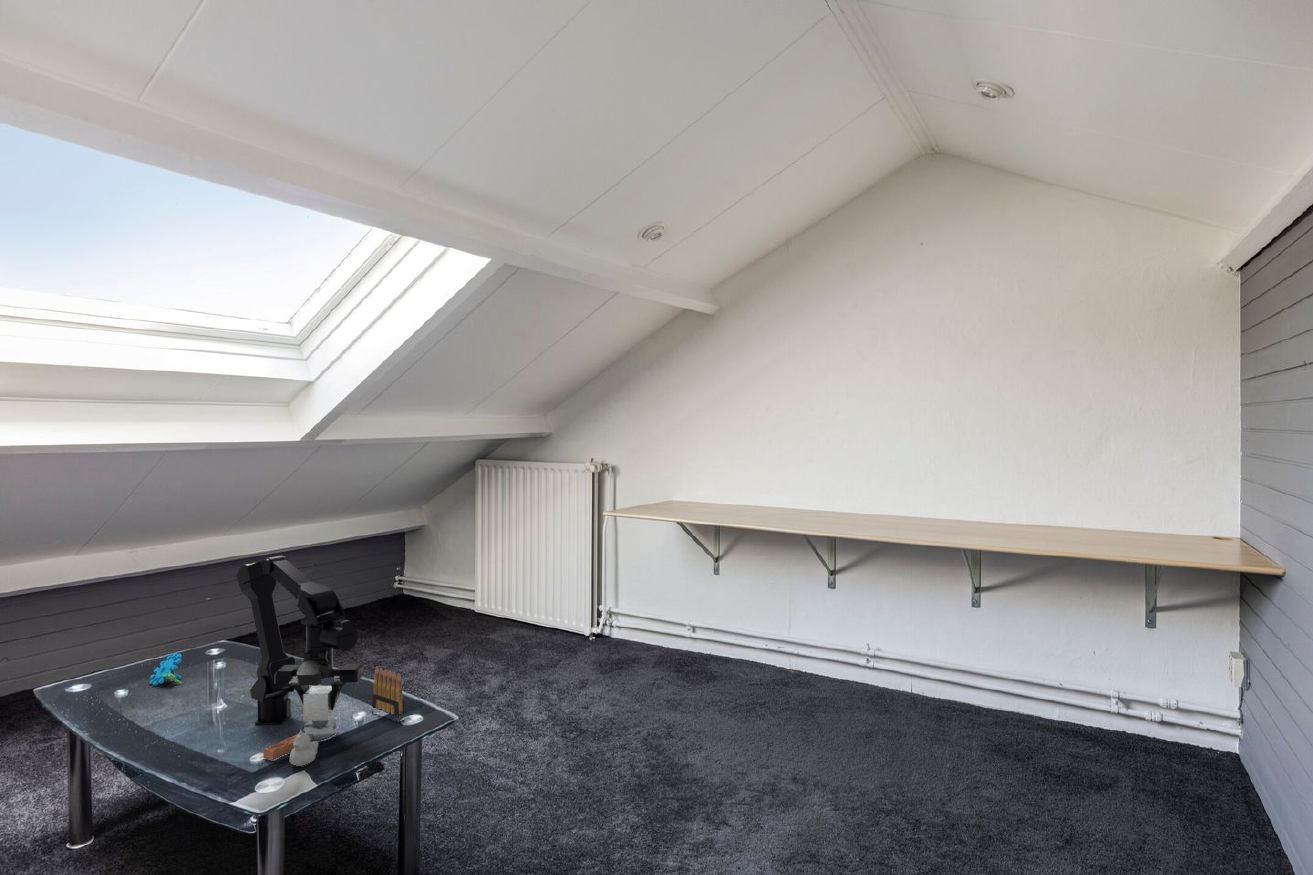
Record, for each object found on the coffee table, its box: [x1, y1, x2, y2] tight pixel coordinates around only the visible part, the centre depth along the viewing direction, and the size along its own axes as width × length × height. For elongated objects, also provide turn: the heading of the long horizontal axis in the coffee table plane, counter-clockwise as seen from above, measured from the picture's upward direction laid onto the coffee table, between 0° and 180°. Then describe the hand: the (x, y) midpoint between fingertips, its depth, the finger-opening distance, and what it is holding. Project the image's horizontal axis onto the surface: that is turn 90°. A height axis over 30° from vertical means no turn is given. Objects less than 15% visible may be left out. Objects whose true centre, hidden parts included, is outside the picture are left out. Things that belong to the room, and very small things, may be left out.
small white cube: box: [302, 685, 337, 722], centre depth 182 cm, size 6×6×6 cm
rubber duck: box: [289, 728, 319, 767], centre depth 168 cm, size 5×7×8 cm
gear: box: [149, 652, 183, 687], centre depth 219 cm, size 11×6×10 cm
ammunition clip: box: [371, 665, 405, 715], centre depth 194 cm, size 11×2×12 cm, turn 55°
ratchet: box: [262, 717, 337, 760], centre depth 178 cm, size 18×7×6 cm, turn 155°
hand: (319, 709), depth 182 cm, fingers closed on small white cube, 5 cm apart
